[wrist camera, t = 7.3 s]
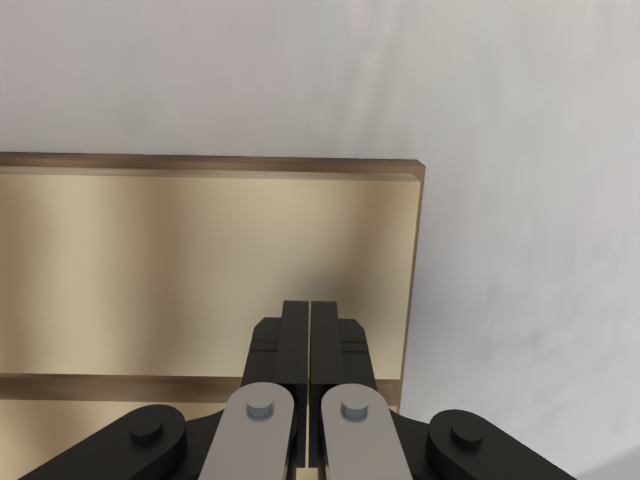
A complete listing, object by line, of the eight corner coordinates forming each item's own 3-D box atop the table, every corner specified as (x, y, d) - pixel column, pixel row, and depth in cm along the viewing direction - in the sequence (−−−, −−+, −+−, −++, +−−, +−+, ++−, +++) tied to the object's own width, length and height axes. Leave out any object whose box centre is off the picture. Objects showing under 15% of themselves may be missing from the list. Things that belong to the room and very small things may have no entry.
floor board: (15, 489, 25) (-24, 540, 22) (-97, 150, 18) (-174, 163, 15) (383, 494, 25) (391, 546, 22) (417, 159, 18) (435, 174, 15)
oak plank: (-52, 351, 20) (-81, 371, 18) (-117, 163, 17) (-157, 171, 15) (394, 358, 20) (400, 379, 18) (411, 173, 17) (420, 181, 15)
